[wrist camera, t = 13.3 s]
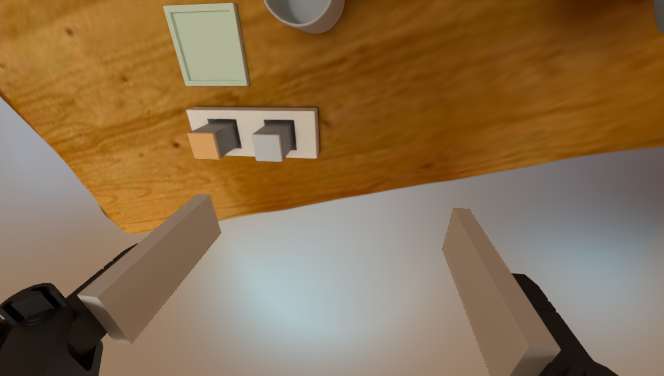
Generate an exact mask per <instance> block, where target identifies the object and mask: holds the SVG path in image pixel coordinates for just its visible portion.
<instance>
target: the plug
mask: <svg viewBox="0 0 664 376" xmlns="http://www.w3.org/2000/svg"><path fill="white" fill-rule="evenodd" d="M187 135H188V138H189V141H190V144H191V147H192V151H193V154H194V157H195V158H196V159H220V158H222V157H223V156H224V155H226V154H227V153H228V152H230V151H231V150H233V149H234V148H235V147H237V146H238V145H239V144H241V141H240V136H239V131H238V126H237V121H236V119H217V120H215V121H213V122H211V123H209V124H206V125H204V126H202V127H200V128H198V129H195V130H193V131H191V132H189V133H187Z"/></svg>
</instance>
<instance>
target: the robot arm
mask: <svg viewBox="0 0 664 376" xmlns="http://www.w3.org/2000/svg"><path fill="white" fill-rule="evenodd" d="M653 5H654V16H655V24H656V27H657V28H658V30H659V31H660V32H662V33H664V0H653ZM220 234H221V231H220V227H219V224H218V221H217V217H216V214H215V211H214V207H213V204H212V201H211V197H210V195H204V194H197V195H196V196H194V197H193V198H192V199H191V200H190V201H188V202H187V203H186V204H185V205H184V206H182V207H181V208H180V209H179V210H178V211H176V212H175V213H174V214H173V215H172V216H171V217H169V218H168V219H167V220H166V221H165V222H163V223H162V224H161V225H160V226H159V227H157V228H156V229H155V230H154V231H153V232H151V233H150V234H149V235H148V236H147V237H145V238H144V239H143V240H142V241H141V242H140V243H137V244H135V245H133V246H132V247H130V248H128V249H126V250H124V251H123V252H122V253H120V254H119V255H118V256H117V257H115V258H114V259H113V261H112V262H109V263H108V264H107V265H106V266H104V269H101V270H100V271H98V272H97V273H96V274H95V275H93V276H92V277H91V278H90V279H89V280H87V281H86V282H85V283H84V284H83V285H81V286H80V287H79V288H78V289H76V290H75V291H74V292H73V293H72V294H70V295H69V296H68V297H67V298H65V297H64V296H63V295H62V294H61V293H60V292H59V290H58V289H57V288H56V287H55V286H54V285H53V284H51V283H41V284H37V285H33V286H31V287H28V288H26V289H23V290H21V291H20V292H18V293H16V294H14V295H13V296H11V297H10V298H8V299H7V300H5V301H4V302H3V303H2V304H1V305H0V314H1V315H2V316H3V317H4V318H5V319H4V320H3V319H2V318H0V376H98V375H99V369H100V363H101V356H102V350H103V343H102V341H101V339H102V338H103V337H104V336H105V334H106V333H108V334H109V336H110V337H111V338H112V340H113V341H114V342H121V343H127V344H132V343H133V342H134V341H135V339H136V338H137V337H138V336H139V335H140V333H141V332H142V331H143V330H144V328H145V327H146V326H147V325H148V323H149V322H150V321H151V320H152V319H153V317H154V316H155V314H157V312H158V311H159V310H160V309H161V307H162V306H163V305H164V304H165V302H166V301H167V300H168V299H169V297H170V296H171V295H172V294H173V292H174V291H175V290H176V289H177V287H178V286H179V285H180V283H181V282H182V281H183V280H184V279H185V277H186V276H187V275H188V274H189V272H190V271H191V270H192V269H193V268H194V266H195V265H196V264H197V262H198V261H199V260H200V259H201V258H202V256H203V255H204V254H205V253H206V251H207V250H208V249H209V248H210V246H211V245H212V244H213V242H214V241H215V240H216V239H217V238H218V236H219V235H220ZM442 250H443V253H444V255H445V258H446V261H447V263H448V266H449V269H450V271H451V274H452V277H453V279H454V282H455V285H456V287H457V290H458V292H459V295H460V298H461V300H462V303H463V306H464V308H465V311H466V314H467V316H468V319H469V321H470V324H471V327H472V329H473V332H474V335H475V337H476V340H477V342H478V345H479V348H480V350H481V353H482V356H483V358H484V361H485V364H486V366H487V369H488V371H489V374H490V376H618V375H617V374H615V373H614V372H612V371H611V370H610V369H608V368H607V367H605V366H603V365H601V364H598V363H596V362H594V361H593V360H592V358H591V357H590V356H589V355H588V353H587V352H586V350H585V349H584V348H583V346H582V345H581V344H580V342H579V341H578V340H577V338H576V337H575V335H574V334H573V333H572V331H571V330H570V329H569V327H568V326H567V324H566V323H565V322H564V320H563V319H562V318H561V316H560V315H559V313H556V309H555V308H554V307H553V305H552V304H551V303H550V302H549V301H548V298H547V297H546V296H545V294H544V293H543V292H542V290H541V289H540V287H539V286H538V285H537V284H535V283H534V282H533V281H532V280H531V279H529V278H528V277H527V276H526V275H524V274H513V273H511V272H510V271H509V269H508V267H507V266H506V265H505V263H504V261H503V260H502V258H501V257H500V255H499V254H498V252H497V251H496V249H495V247H494V246H493V245H492V243H491V241H490V240H489V238H488V237H487V235H486V234H485V232H484V231H483V229H482V228H481V226H480V224H479V223H478V221H477V220H476V218H475V217H474V215H473V214H472V212H471V211H470V209H462V208H453V211H452V215H451V218H450V222H449V226H448V230H447V233H446V237H445V240H444V244H443V248H442Z"/></svg>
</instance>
